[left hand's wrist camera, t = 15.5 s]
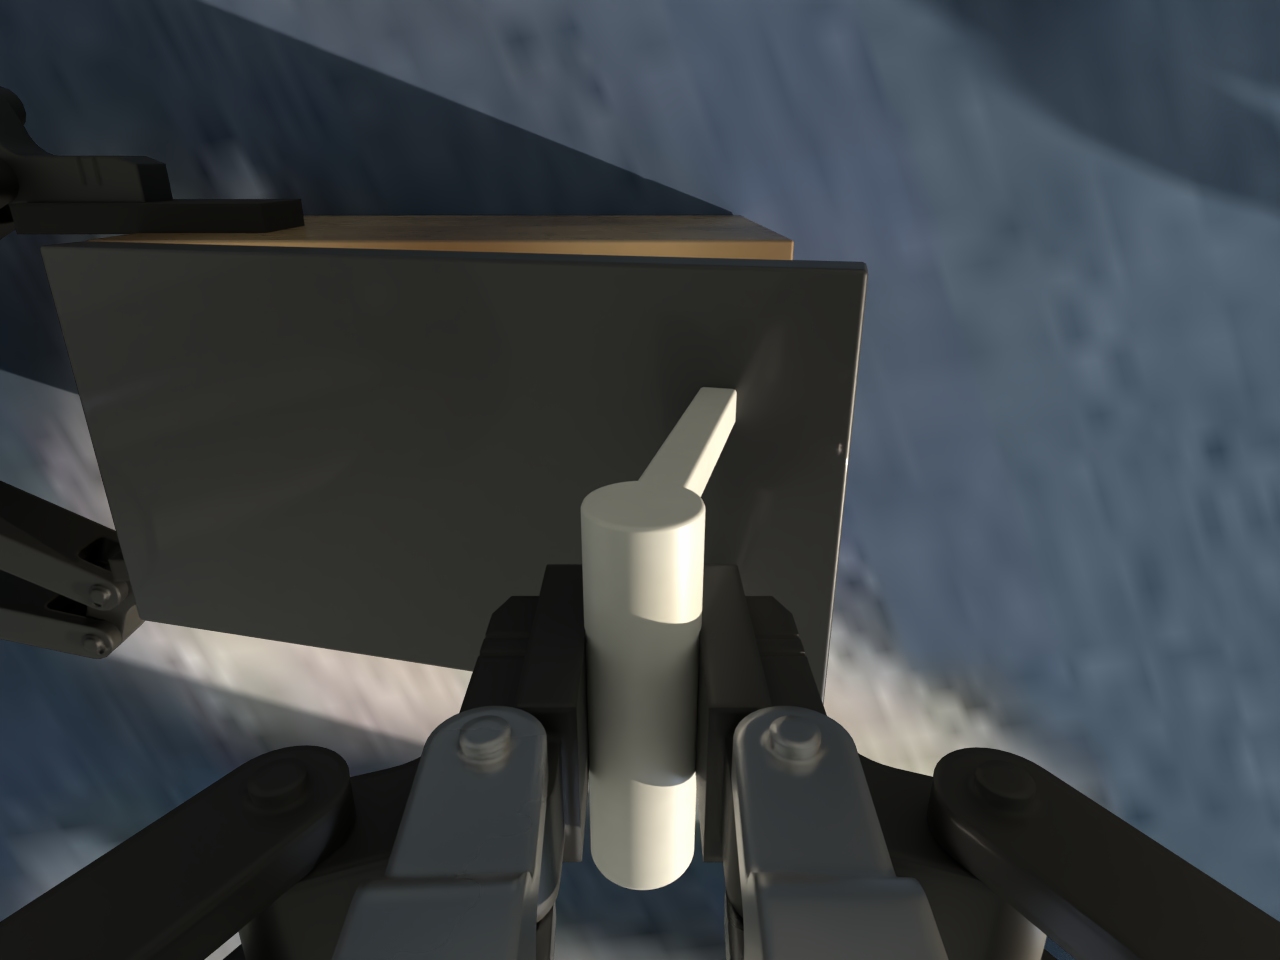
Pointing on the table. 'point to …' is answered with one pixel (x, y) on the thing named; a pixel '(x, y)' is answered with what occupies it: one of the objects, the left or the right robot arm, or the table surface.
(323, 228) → the chest
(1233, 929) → the left robot arm
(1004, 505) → the table surface
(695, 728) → the lid
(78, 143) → the table surface
